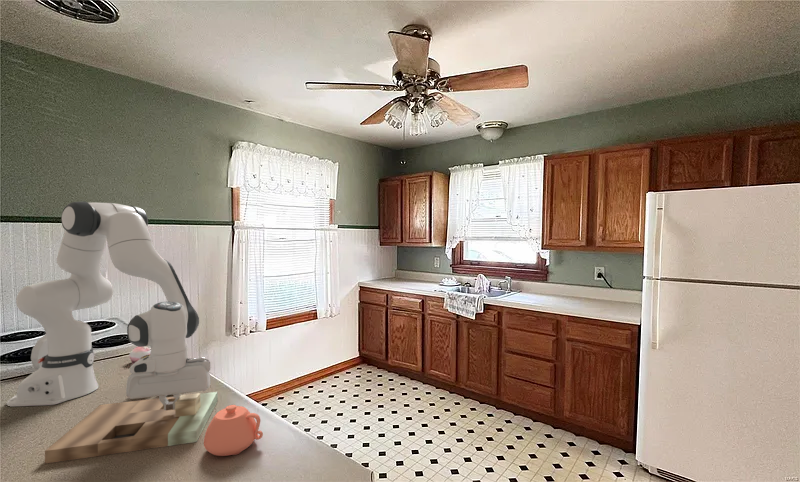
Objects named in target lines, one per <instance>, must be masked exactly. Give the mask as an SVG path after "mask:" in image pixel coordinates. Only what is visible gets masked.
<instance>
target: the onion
mask: <svg viewBox="0 0 800 482" xmlns="http://www.w3.org/2000/svg"><path fill="white" fill-rule="evenodd" d="M150 352H151V348H150V347H149V346H146V347H138V346H136V347H134V348H133V349H132V350H131V351H130V352H129V354H128V356H129V359H130V361H131V363H130V364H129V365H130V366H132V365H133V364H134V363H135V362H137V361H138V360H140V359H141V357H143V356H146V355H150Z"/></svg>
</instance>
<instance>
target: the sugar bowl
mask: <svg viewBox="0 0 800 482" xmlns="http://www.w3.org/2000/svg"><path fill="white" fill-rule="evenodd" d="M260 425H261V416H260V415H259V414H258V413H255V412H250V411H249V409H247V408H246V407H245V406H241V405H236V404H231V405H230V404H229V405H227V406H226V407H225V408H222V409H221V410H219V411H218V412H216V414H215V415H214V416H213V417H212V419H211V421H210V423H209V424H208V425H207V428H206V430H205V434H204V438H203V447H204V449H205V450H206V451H207V452H209V453H210V454H212V455H214V456H217V457H226V456H231V455H233V456H237V455H239V454H240V453H241V452H243V451H246V450H247V449H248V448H249V447H250V446H251V445H252V444H253V443H254V441H255V440H257V441H258V440H261V439H262V438H263V435H264V434H263V431H262V430H260Z"/></svg>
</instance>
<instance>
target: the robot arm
mask: <svg viewBox="0 0 800 482" xmlns="http://www.w3.org/2000/svg"><path fill="white" fill-rule="evenodd" d="M60 219H61V224H62V227H63V229H64V234H63V236H62V240H61V243H60V247H59V250H58V253H57V256H56V263H57V266H58V267H59V268H60V269H62V270H63V271H65V272H67V273H69V274H70V277H68V278H65V279H55V280H54V279H53V280H45V281H44V280H43V281H40V282H35V283H33V284H29V285H25V286H23V287H22V288H21V289H20V290H19V291H18V293H17V295H16V298H15V300H16V301H15V302H16V307H17V308H18V310H19V311H20V312H21V313H23V314H24V315H26V316H28V317H31V318H32V319H34V320H36V321H37V322H38V323H39V324H40V325H41V326H42V327H43V329H44V332H45V335H46V337H47V346H48V355H46V356H44V357H42V358H41V359H39V360H40V361H39V362H38V363H40V362H42V367H40V368H39V369H38V370H37V369H35V370H34V372H32V373H31V374H29V375H28V376H27V377H25V378H24V379H23V380H22V381H21V382H20V383H19V384H18V386H17V391H16V394H15V395H14V396H12V397H11V398H9V399H8V400H7V401H6V405H8V406H10V407H29V406H54V405H58V404H61V403H64V402H66V401H69V400H73V399H76V398H77V399H78V398H80V397H83V396H86V395H88V394H91V393H93V392H94V391H96V390H97V389H98V388H99V383H98V381H97V378H96V374H95V371H94V361H95V360H94V359H95V355H94V347H92V327H91V326H90V325H89V324H88V323H87V322H84V321H81V320H77V319H75V318H74V316H73V311H79V310H85V309H90V308H94V307H97V306H101V305H103V304H106V303H108V302H109V301H110V300H111V299H112V297H113V294H114V287H113V284H112V283H111V281H110V280H109V279H108V278H106V277H105V276H103V274H102V272H101V265H102V263H101V262H102V260H103V255H104V251H105V248H106V244H107V247H108V253H109V257H110V260H111V263H112V265H113V266H114V268H116V269H117V271H119V272H121V273H123V274H125V275H127V276H132V277H136V278H140V279H146V280H149V281H152V282H154V283H156V284H157V285H158V286H159V287H160V288H161V290H162V292H163V294H164V296H165V298H166V301H159V302H158V303H155V304H153V305H152V306H151V308H150V309H149V310H148V311H145V312H142V313H139V314H136V315H135V316H133V317H132V318H131V319H130V321H129V322H128V324H127V327H126V329H127V331H126V332H127V339H128V341H129V342H130V343H131V345H132V344H133V345H134V346H136V347H146V346H147V347H149V348H150V350H151V352H150V356H147V357H145V358H142V359H140V360H138V361H137V362H135V363H134V364H133V365H130V366H129V373H130V375H129V376H128V377H127V380H126V386H125V387H126V389H125V396H126V397H127V398H128V399H130V400H135V399H136V400H137V399H145V398H152V397H153V398H154V397H158V398H159V400H160V401H161V403H162V404H163V405H164V411H166V410H175V402H176V401H177V400H178V399H179V397H180V396H181V395H183V394H192V393H201V392H206V391H207V390H208V389H209V388H210V386H211V374H210V371H211V361H210V360H209V359H207V358H205V357H197V358H195V357H193V358H189V357H188V356H189V355H188V343H187V340H186V339H189V338H191V337H192V336H193V335H194V334H195V333H196V331H197V329H198V328H199V324H200V317H199V314H198V313H197V311H196V310H195V308H194V307H193V305H192V304H191V301H190V300H189V298H188V296H187V294H186V291H185V290H184V287H183V285H182V283H181V281H180V279H179V276H178V275H177V273H176V271H175V269H174V267H173V265H172V263H170V260H167V259H165V258H163V257H162V256H161V255H160V254H159V252H158V251H157V248H155V245H154V242H153V239H152V235H151V233H150V230H149V227H148V225H149V218H148V215H147V213H146V212H145V210H144V209H142V208H141V207H139V206H134V205H127V204H126V205H125V204H122V203H121V204H120V203H114V202H95V201H94V202H92V201H91V202H88V201H73V202H70V203H67V205H65V206H64V208H63V210H62V212H61V218H60ZM170 395H173V396H172V397H173V398H175V400H174V401H173V402H169V401H168V400H167V398H166V397H168V396H170Z"/></svg>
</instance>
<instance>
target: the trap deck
mask: <svg viewBox="0 0 800 482" xmlns="http://www.w3.org/2000/svg"><path fill="white" fill-rule="evenodd" d="M166 398H167V400H168V401H169V402H173V401H174V400H175V398H173V396H169V397H168V396H166ZM218 400H219V394H218V391H211V392H203V393H202V392H200V403H201V407H200V408H199V410H198V411H197V413H196V415H188V416H180V417H175V410H166V411H164V405H163V404H162V403H161V401H160V400H159V397H157V398H150V399H149V398H148V399H142V400H141V399H140V400H133V401H132V400H131V401H123V402H114V403H106V404H99V405H98V406H97V407H95V409H93V410H92V411H91V412H89V413H88V414H87V415H86V416H85V417H83V419H82V420H80V421H79V422H78V423H76V424H75V425H74V426H73V427H71V428H70V429H69V430H68V431H67V432H66V433H65V434H63V435H62V436H61V437H60V438H58V439H57V440H56V441H55V442H53V443H52V444H51V445H50V446H49V447H48V448H46V450H44V464H50V463H51V464H52V463H58V462H65V461H67V462H68V461H73V460H80V459H86V458H94V457H101V456H107V455H109V456H110V455H114V454H115V455H116V454H122V453H127V452H128V453H129V452H135V451H143V450H149V449H150V450H151V449H158V448H164V447H170V446H172V447H173V446H177V445H185V444H191V443H193V444H194V443H197V442H198V440H199V438H200V437H201V434H202V433H203V430H204V428H205V427H206V425H207V423H208V421H209V419H210V417H211V414H212V413H213V412H214V410H215V407H216V405H217V403H218V402H219V401H218Z"/></svg>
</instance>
